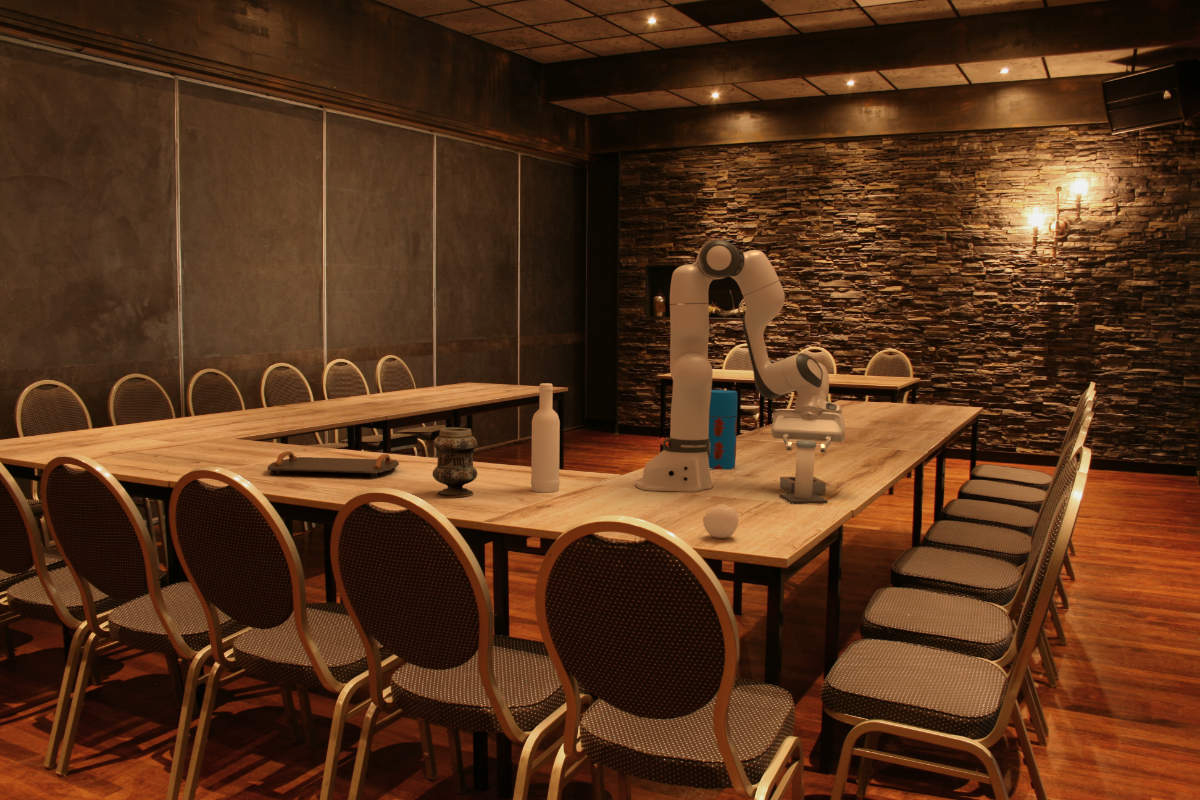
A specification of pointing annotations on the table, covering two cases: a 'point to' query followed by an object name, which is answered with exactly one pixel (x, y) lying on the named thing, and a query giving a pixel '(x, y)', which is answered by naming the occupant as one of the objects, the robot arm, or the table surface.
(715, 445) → the red-spotted teal box
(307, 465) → the serving board
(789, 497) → the mat
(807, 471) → the cylinder
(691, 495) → the table surface
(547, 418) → the bottle
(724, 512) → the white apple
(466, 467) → the apothecary jar
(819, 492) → the collar
